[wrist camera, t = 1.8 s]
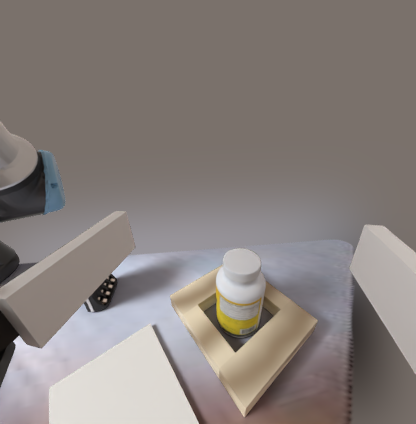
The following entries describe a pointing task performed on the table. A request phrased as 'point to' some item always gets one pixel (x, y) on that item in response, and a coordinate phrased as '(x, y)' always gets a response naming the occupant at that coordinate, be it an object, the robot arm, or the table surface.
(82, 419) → the pad
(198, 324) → the holder
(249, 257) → the pill bottle
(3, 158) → the robot arm
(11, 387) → the table surface
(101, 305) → the battery charger
